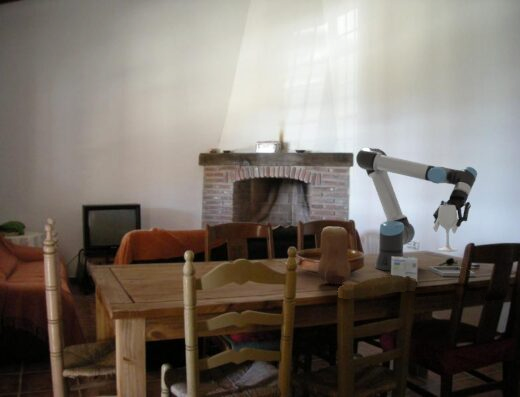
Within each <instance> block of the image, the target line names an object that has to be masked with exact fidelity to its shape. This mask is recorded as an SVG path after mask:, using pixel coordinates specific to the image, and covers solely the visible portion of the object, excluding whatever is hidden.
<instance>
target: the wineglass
mask: <svg viewBox="0 0 520 397" xmlns="http://www.w3.org/2000/svg"><path fill="white" fill-rule="evenodd" d="M439 206H440V207H439ZM439 206H438V207H439V212H438V221H439V224H440V225H439V226H440V227H441V228H443V229H444V230H445V232H446V244H445V246H444V247H439V248H438V249H437V251H439V252H444V253H445V252H448V253H451V252H452V253H453V252H458V251H459V249H457V248H454V247H451V246H450V234H449V233H450V230H452V227H453V225H454V223H455V221H456V219H458V211H457V210H456V207H455V205H440V204H439Z"/></svg>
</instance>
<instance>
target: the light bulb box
mask: <svg viewBox="0 0 520 397" xmlns="http://www.w3.org/2000/svg"><path fill="white" fill-rule="evenodd" d="M418 261H419V260H418V258H416V257H415V256H412V257H411V256H404V257H391V271H390V276H391V275H399V276H403V277H406V276H410V277H411V278H414V279H416V281H417V282H418V263H419V262H418Z"/></svg>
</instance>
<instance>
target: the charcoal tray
mask: <svg viewBox="0 0 520 397" xmlns="http://www.w3.org/2000/svg"><path fill="white" fill-rule="evenodd" d="M460 268H461V266H457V265H456V266H455V265H454V266H453V265H452V266H449V265H448V266H443V265H442V266H441V265H440V266H437V265H435V266H434V265H432V266H428V267H427V270H428V271H430V272H432V273H433V274H435V275H438V276H440V275H441V277H442V276H445V277H446V276H449V278H451V277H452V278H453V277H454V276H455V278H457V277H459V273H460ZM469 271H470V277H469V278H471V277H472V278H474V277H476V272H474V271H472V270H469ZM450 276H451V277H450ZM445 277H444V278H445ZM446 278H447V277H446Z"/></svg>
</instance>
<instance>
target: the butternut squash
mask: <svg viewBox="0 0 520 397" xmlns="http://www.w3.org/2000/svg"><path fill="white" fill-rule="evenodd" d="M348 235H349V234H348V231H347V230H346V228H345V227H341V226H326V227H323V228H322V231H321V233H320V245H319V246H320V247H319V248H320V253H321V256H320V258H319V262H318V268H317V271H318V272H317V276H318V277H319V278H320V279H321V280H322V281H323V282H324V283H327V284H330V283H331V284H330V285H332V284H337V285H336V286H340V285H339V284H341V285H342V284H343V283H346V282H347V281H348V280H349V278H350V277H351V266H350V265H351V264H350V263H349V260H348V252H349V236H348Z"/></svg>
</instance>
